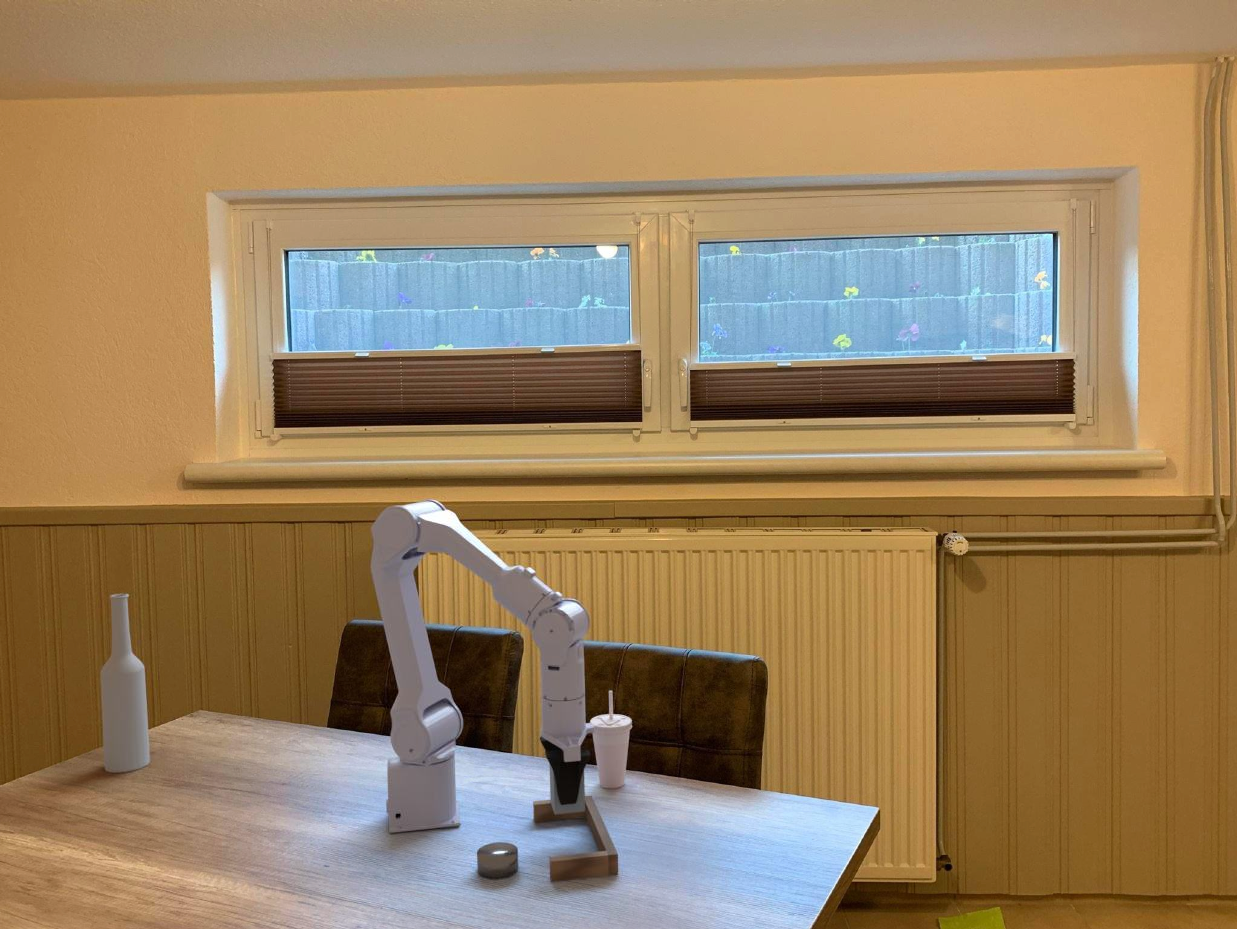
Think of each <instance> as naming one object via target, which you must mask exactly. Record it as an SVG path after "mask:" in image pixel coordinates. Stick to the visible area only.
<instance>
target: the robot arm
mask: <svg viewBox="0 0 1237 929" xmlns="http://www.w3.org/2000/svg"><path fill="white" fill-rule="evenodd" d="M370 531H371V535H372V540H373V546H372V547H373V548H372V554H371V560H370V572H371V575H372V582H373V585H374V590H375V594H376V598H377V602H378V607H379V611H380V616H381V620H382V625H383V628H384V633H385V637H386V638H385V639H386V642H387V645H388V651H389V654H390V659H391V663H392V668H393V672H394V676H395V680H396V684H397V689H398V694H397V696H396V698H395V700H394V703H393V705H392V707H391V709H390V718H391V730H390V744H391V747H392V749H393V751H394V753H395V755H396V756H397V757H396V756H395V757H391V758H388V759H387V771H386V772H387V775H386V776H387V777H386V778H387V799H386V800H385V801H386V802H385V803H386V804H385V805H386V814H388V832H389V833H393V834H394V833H402V832H410V831H412V832H413V831H421V830H430V829H438V828H439V829H442V828H449V827H458V826H460V825H461V816H460V805H459V800H457V790H456V788H457V787H456V785H457V784H456V758H455V756H456V755H455V754H456V753H455V752H456V750H455V749H456V740H457V739H458V738H459V736H461V734H462V731H463V728H464V718H463V715H462V713H461V710H460V709H459V707H458V706H457V705H456V703H455V702H454V699H453V695H452V693H451V689H450V688H448V687H447V686H446V685H445V684H443V683H442V682H440V681H439V678H438V675H437V671H436V670H437V669H436V667H435V666H436V665H435V662H434V658H433V653H432V649H431V644H430V641H429V637H428V632H427V627H426V623H425V620H424V615H423V610H422V606H421V601H420V597H419V593H418V589H417V584H416V580H415V576H414V571H415V569H416V568H417V566H418V565H419V564H420V562H421V560H422V559H423V558H424V557H425V555H426V553H444V554H446V555H448V556H450V557H451V558H452V559H454V560H455V561H456V562H458V563H459V564H461V565H462V566H463V567H465V568H466V569H467V570H469V571H470V572H471V573H472V574H474V575H476V576H477V577H479V578H480V579H481V580H483V581H484V582H485V583H487V584H488V585H489V586H490V587H491V592H492V598H493V600H494V601H495V602H496V603H497V604H498V605H500V606H501V607H503V608H504V609H505V610H506V611H507V612H508V613H510V614H511V615H512V616H514V617H515V618H516V619H517V620H518V621H520V622H521V623H522V624H523V625H524V626H526V627H527V628H528V629H530V634H531V637H532V640H533V642H534V644H535V645H536V646H537V647H538V649H539V656H540V657H539V658H540V663H539V666H540V688H541V689H540V697H541V700H540V702H541V703H540V705H541V706H540V707H541V727H540V737H539V741H540V743H541V745H542V747H543V750H544V753H545V754H544V755H545V757H546V759H547V761H548V763H550V764H549V766H550V765H551V767H552V770H553V773H554V777H555V782H556V788H557V794H558V798H559V801H560V804H561V805H567V804H576V802H577V799H578V794H579V788H580V783H581V778H582V774H583V771H584V772H585V768H586V766H587V764H588V762H589V760H590V758H591V752H590V750H589V749H581V745H582V743H583V742H584V741H585V738H586V736H587V735H588V734H593V732H595V726H594V725H593V724H592V723H590V722H588V723H587V722H586V686H585V683H586V682H585V656H584V655H585V654H584V653H585V651H584V640H583V639H584V638H585V637H586V636H587V634H588V632H589V630H590V627H591V626H590V625H591V621H590V620H591V619H590V615H589V613H588V610H587V609H586V608H585V607H584V606H583V605H582V603H581V602H580V601H579V600H577V599H574V598H570V597H569V598H564V597H563V596H564V595H563V594H562V593H561V592H559V591H556V592H555V591H554V590H552V589H551V588H550V587H549V586H548V585H546V583H544V582H543V581H541V580H540V579H539V578H537V576H535V575H536V574H537V572H536V570H534V569H533V568H531V567H530V566H529V567H524V566H523V565H513V566H509V565H508V564H507V563H506V562H504V561H503V560H502V559H501V558H500V557H499V556H498V555H497V554H496V553H495V552H494V551H492V550H491V549H490V548H489V547H487V546H486V544H484V543H483V542H482V541H481V540H480V539H479V538H478V537H477V536H476V535H475V534H473V533H472V532H471V531H470V530H469V529H468V528H467V527H465V525H463V524H462V523H461V521H460V519H459V518H458V516H457V515H456V513H455V512H454V511H451V510H449V509H447V508H446V507H445V505H444V504H442V503H441V502H440V501H437V500H435V499H424V500H421V501H419V502H415V503H414V502H413V503H408V504H403V505H392V506H389V507H386V508H384V509H383V510H382V511H381V512H380V514H379V515H378V517H377V518H376V520H375V521H374V523H373V524H372V525H371V526H370Z"/></svg>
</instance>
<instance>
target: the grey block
mask: <svg viewBox="0 0 1237 929" xmlns="http://www.w3.org/2000/svg"><path fill="white" fill-rule="evenodd" d="M548 763H549V762H548ZM585 784H586V783H585V770H584V771H583V774H582V778H581V783H580V788H579V794H578V799H577V802H576V804H567V805H561V804H560V801H559V798H558V794H557V788H556V782H555V777H554V773H553V770H552V767H551V765H550V763H549V788H550V789H549V791H550V792H549V794H550V795H549V796H550V800H551V805H552V808H553V811H554V814H564V813H573V812H583V811H585V796H586V795H585V794H586V793H585V791H586V790H585V789H586V788H585Z"/></svg>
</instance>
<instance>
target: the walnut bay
mask: <svg viewBox="0 0 1237 929" xmlns="http://www.w3.org/2000/svg"><path fill="white" fill-rule="evenodd" d="M532 805H533V811H532V812H533V813H532V814H533V821H534V823H544V822H552V821H553V822H554V821H561V820H563V821H564V820H571V819H572V820H573V819H574V820H575V819H581V818H584V819H585V820H586V823H587V826H588V828H589V832H590V833H591V836H592V838H593V840H594V843H595V845H596V847H597V850H598V851H592V852H584V853H583V852H582V853H575V854H567V855H566V854H563V855H558V856H556V855H554V856H549V879H550V882H551V883H553V882H562V881H563V882H564V881H570V880H571V881H572V880H578V879H579V880H580V879H587V878H597V877H598V878H599V877H604V876H605V877H606V876H613V875H619V853H618V850H617V849H616V846H615V844H614V842H613V839H612V838H611V836H610V834H609V831H608V828H607V826H606V824H605V822H604V819H603V818H602V815H601V813H600V811H599V809H598V806H597V804H596V802H595V800H594V798H593V796H592V795H585V811H583V812H573V813H564V814H554V811H553V808H552V805H551V799H542V800H534V801H533V802H532Z"/></svg>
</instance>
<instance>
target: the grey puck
mask: <svg viewBox="0 0 1237 929" xmlns="http://www.w3.org/2000/svg"><path fill="white" fill-rule="evenodd" d="M476 861H477V862H476V864H477V865H476V866H477V870H476V871H477V874H478V876H480V877H481V878H483V879H486V880H490V881H491V880H493V881H495V880H498V881H499V880H503V879H504V880H505V879H508V878H511V877H513V876H514V875H515V874H516V873H518V871H519V848H518V847H517V846H516V845H515V844H513V843H511V842H510V843H509V842H506V841H505V842H503V841H501V842H498V841H497V842H491V843H487V844H484V845H482V846H481V847H479V848H478V849H477V852H476Z"/></svg>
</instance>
